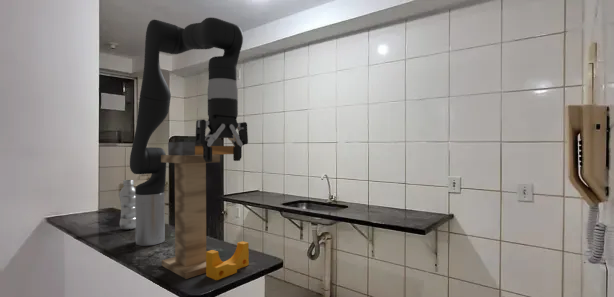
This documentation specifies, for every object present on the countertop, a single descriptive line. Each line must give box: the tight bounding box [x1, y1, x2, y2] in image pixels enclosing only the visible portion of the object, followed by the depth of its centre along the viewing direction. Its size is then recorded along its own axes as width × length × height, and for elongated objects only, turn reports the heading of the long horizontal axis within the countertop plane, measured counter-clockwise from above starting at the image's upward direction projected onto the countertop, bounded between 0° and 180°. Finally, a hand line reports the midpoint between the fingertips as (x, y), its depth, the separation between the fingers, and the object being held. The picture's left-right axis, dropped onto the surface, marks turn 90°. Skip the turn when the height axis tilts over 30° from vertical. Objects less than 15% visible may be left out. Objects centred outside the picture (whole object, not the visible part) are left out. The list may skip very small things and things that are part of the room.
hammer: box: [167, 141, 235, 155], centre depth 94 cm, size 8×19×4 cm, turn 138°
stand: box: [161, 154, 221, 280], centre depth 90 cm, size 14×10×31 cm
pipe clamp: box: [205, 240, 250, 281], centre depth 87 cm, size 12×4×6 cm, turn 141°
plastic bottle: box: [118, 179, 136, 231], centre depth 133 cm, size 6×7×20 cm
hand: (223, 161), depth 84 cm, fingers open, 8 cm apart
